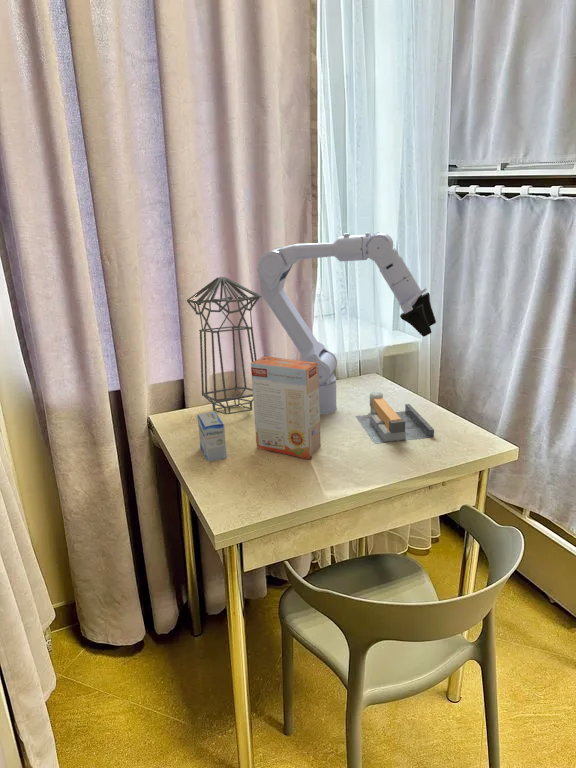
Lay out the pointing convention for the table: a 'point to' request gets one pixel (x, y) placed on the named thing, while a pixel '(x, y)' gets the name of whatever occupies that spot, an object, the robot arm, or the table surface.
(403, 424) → the swing bar
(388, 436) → the module
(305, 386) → the cracker box
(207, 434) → the medicine box
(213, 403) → the geometric lantern
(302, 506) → the table surface
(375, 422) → the block
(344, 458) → the table surface
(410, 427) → the tray
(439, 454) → the table surface
